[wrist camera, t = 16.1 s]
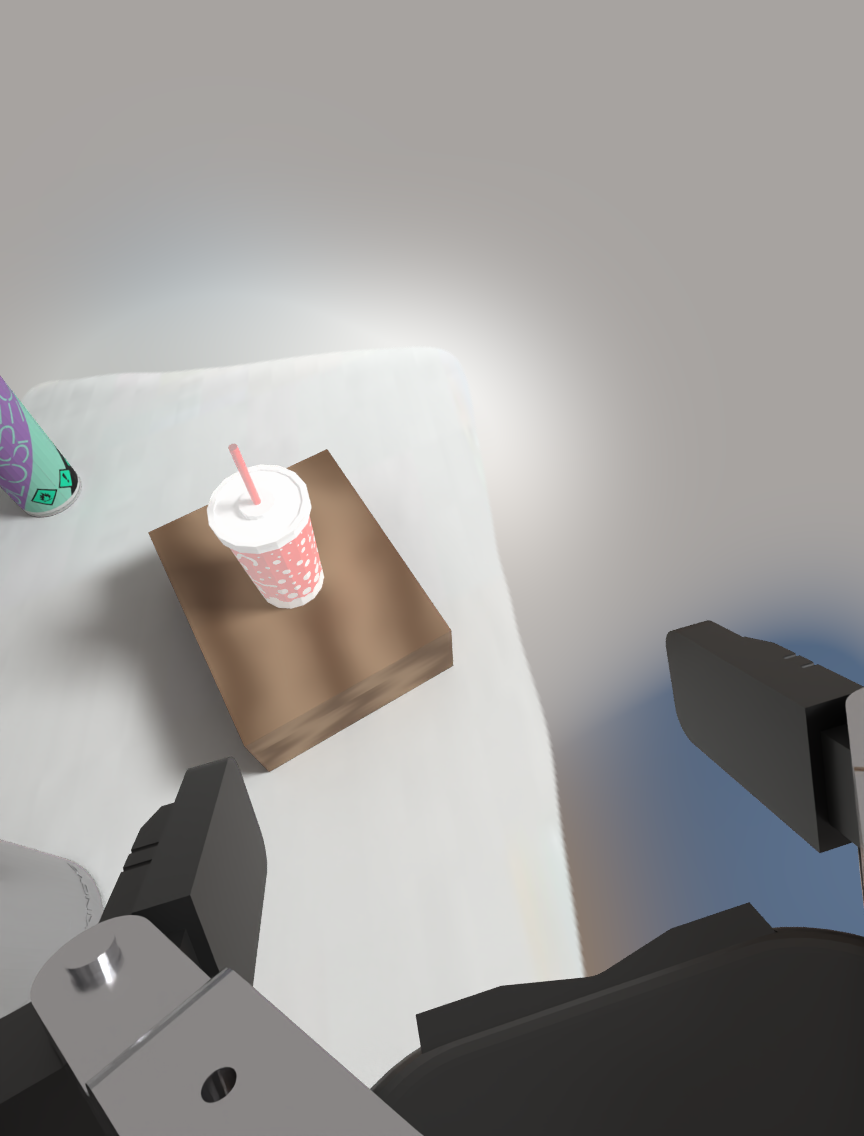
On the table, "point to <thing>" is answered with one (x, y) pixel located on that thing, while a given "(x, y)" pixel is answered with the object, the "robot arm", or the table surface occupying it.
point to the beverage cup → (269, 530)
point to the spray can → (32, 462)
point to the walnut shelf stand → (307, 623)
